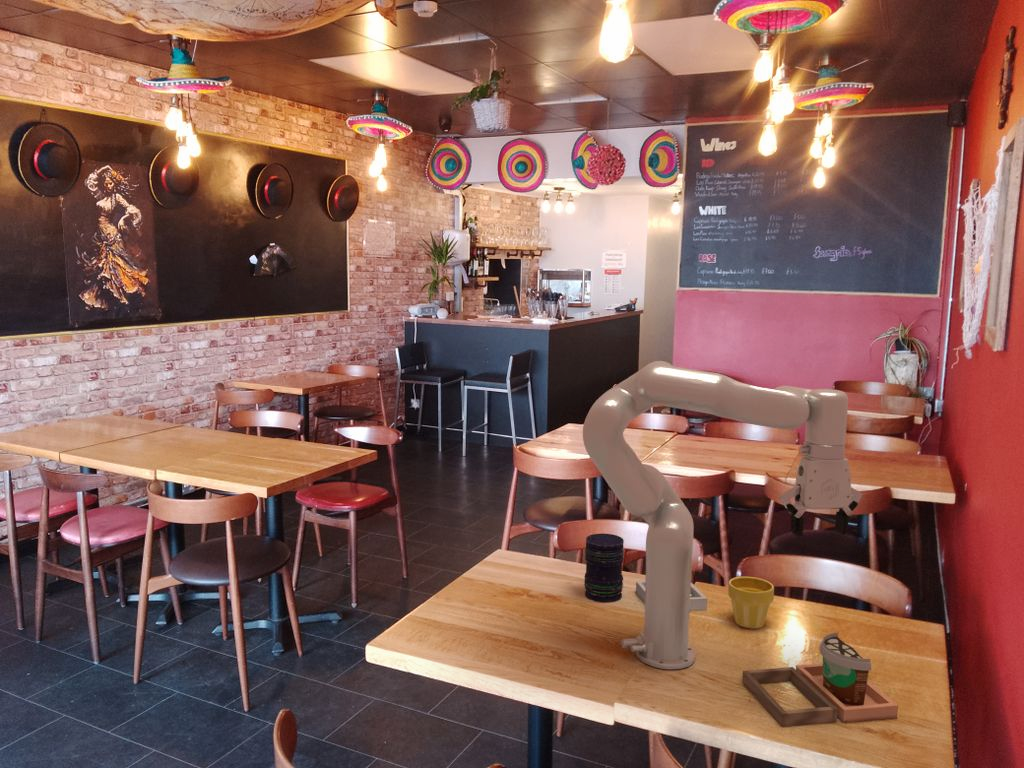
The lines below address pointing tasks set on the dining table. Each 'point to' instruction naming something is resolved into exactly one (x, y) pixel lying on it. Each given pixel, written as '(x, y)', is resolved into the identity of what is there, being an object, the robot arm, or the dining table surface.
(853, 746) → the dining table surface
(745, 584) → the plant pot
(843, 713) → the terracotta tray
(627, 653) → the dining table surface
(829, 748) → the dining table surface
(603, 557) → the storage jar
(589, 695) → the dining table surface
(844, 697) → the food container
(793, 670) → the walnut stand frame
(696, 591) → the grey parts rim
